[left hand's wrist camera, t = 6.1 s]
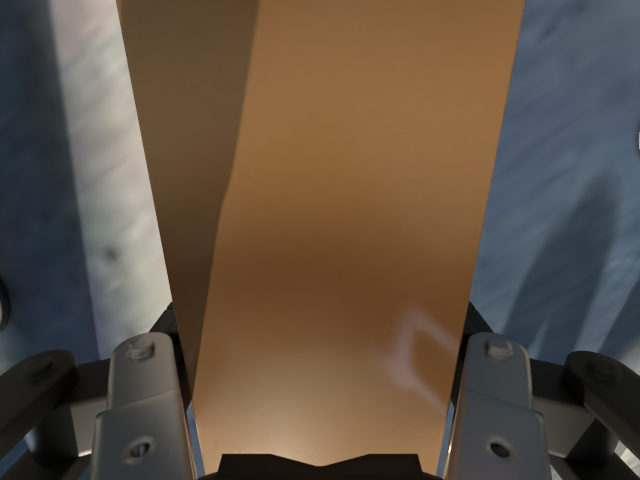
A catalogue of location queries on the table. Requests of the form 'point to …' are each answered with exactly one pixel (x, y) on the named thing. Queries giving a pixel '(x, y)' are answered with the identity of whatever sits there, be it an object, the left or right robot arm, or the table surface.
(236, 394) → the box
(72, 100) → the table surface
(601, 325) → the table surface
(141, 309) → the table surface
